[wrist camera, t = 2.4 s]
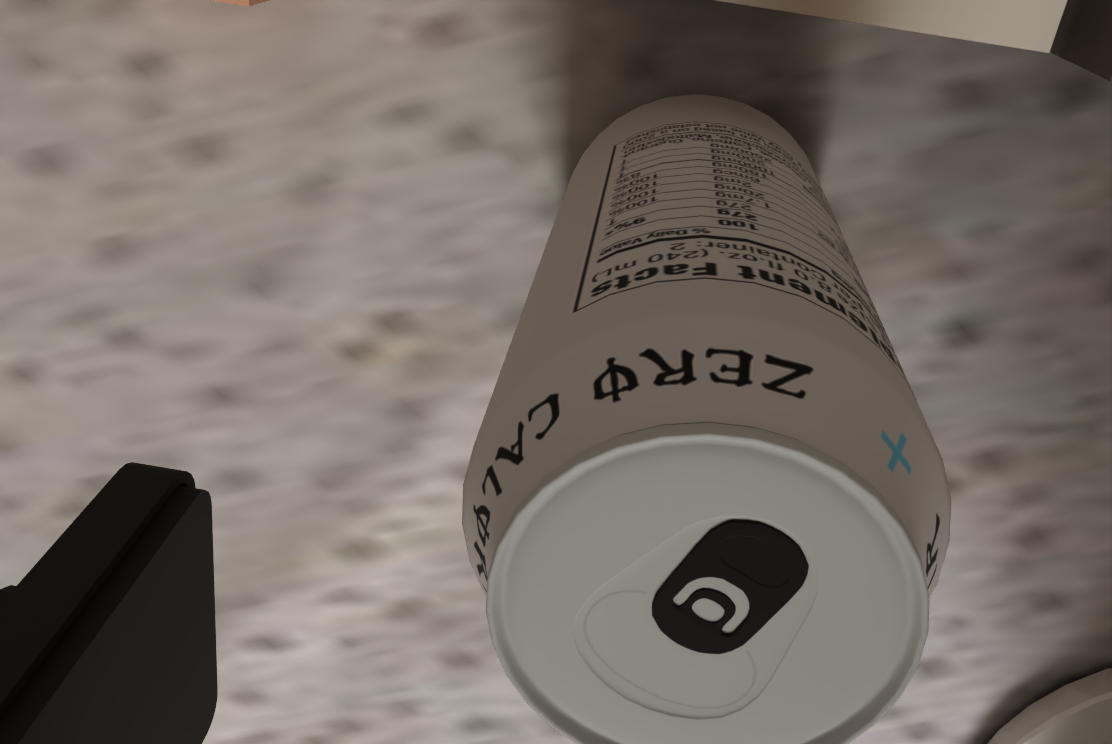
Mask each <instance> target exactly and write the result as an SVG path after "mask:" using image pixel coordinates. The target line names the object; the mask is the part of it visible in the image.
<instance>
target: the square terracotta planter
mask: <svg viewBox="0 0 1112 744" xmlns="http://www.w3.org/2000/svg"><path fill="white" fill-rule="evenodd" d="M213 1H219V2H225V3H231V4H237V5H244V6H252V5H255V4H258V3H262V2H265V1H268V0H213Z"/></svg>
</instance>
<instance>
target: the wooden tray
mask: <svg viewBox="0 0 1112 744" xmlns="http://www.w3.org/2000/svg"><path fill="white" fill-rule="evenodd" d="M716 1H722V2H729V3H735V4H741V5H748V6H754V7H760V8H767V9H773V10H779V11H786V12H792V13H798V14H805V15H811V16H817V17H824V18H830V19H836V20H843V21H849V22H855V23H862V24H868V25H874V26H881V27H887V28H893V29H900V30H906V31H912V32H919V33H925V34H931V35H938V36H944V37H950V38H957V39H963V40H969V41H976V42H982V43H988V44H995V45H1001V46H1007V47H1014V48H1020V49H1026V50H1033V51H1039V52H1045V53H1049V52H1051V53H1053V54H1055V55H1057V56H1059V57H1061V58H1063V59H1066V60H1068V61H1070V62H1072V63H1074V64H1076V65H1078V66H1080V67H1082V68H1084V69H1086V70H1088V71H1090V72H1092V73H1094V74H1097V75H1099V76H1101V77H1103V78H1105V79H1107V80H1109V81H1112V0H716Z"/></svg>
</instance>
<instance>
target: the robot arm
mask: <svg viewBox="0 0 1112 744" xmlns="http://www.w3.org/2000/svg"><path fill="white" fill-rule="evenodd" d="M216 702H217V661H216V629H215V597H214V565H213V533H212V504H211V497H210V494H209V492H208V491H206V490H202V489H196V488H195V482H194V479H193V477H192V474H190V473H189V472H187V471H181V470H175V469H169V468H163V467H157V466H151V465H145V464H139V463H133V462H132V463H127V464H125V465H124V466H123V467H122V468H121V469H119V470H118V472H117V473H116V474H115V475H114V476H113V477H112V478H111V480H110V481H109V482H108V483H107V484H106V485H105V486H104V487H103V489H102V490H101V491H100V492H99V493H98V494H97V495H96V497H95V498H94V499H93V500H92V501H91V502H90V503H89V505H88V506H87V507H86V508H85V509H84V510H83V511H82V512H81V514H80V515H79V516H78V517H77V518H76V519H75V520H74V522H73V523H72V524H71V525H70V526H69V527H68V528H67V529H66V531H65V532H64V533H63V534H62V535H61V536H60V537H59V539H58V540H57V541H56V542H55V543H54V544H53V545H52V547H51V548H50V549H49V550H48V551H47V552H46V553H45V554H44V556H43V557H42V558H41V559H40V560H39V561H38V562H37V564H36V565H35V566H34V567H33V568H32V569H31V570H30V572H29V573H28V574H27V575H26V576H25V577H24V578H23V579H22V581H21V582H20V583H19V584H18V585H17V586H13V585H10V586H8V587H5V588H3V589H0V744H202V742H203V740H204V738H205V736H206V735H207V732H208V730H209V728H210V725H211V722H212V719H213V716H214V712H215V708H216ZM988 744H1112V668H1109V669H1105V670H1103V671H1100V672H1097V673H1095V674H1092V675H1090V676H1087V677H1085V678H1082V679H1079V680H1077V681H1074V682H1072V683H1069V684H1067V685H1065V686H1063V687H1061V688H1059V689H1057V690H1056V691H1054V692H1052V693H1050V694H1049V695H1047V696H1045V697H1043V698H1042V699H1040V700H1038V701H1036V702H1035V703H1033V704H1031V705H1029V706H1028V707H1027V708H1026V709H1024V710H1023V711H1022V712H1021V713H1019V714H1018V715H1017V716H1016V717H1014V718H1013V719H1012V720H1011V721H1009V722H1008V723H1007V724H1006V725H1004V726H1003V727H1002V728H1001V729H1000V730H999V731H998V732H997V733H996V734H995V735H994V737H993V738H992V739H991V740H990V741H989V742H988Z"/></svg>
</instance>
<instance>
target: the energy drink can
mask: <svg viewBox="0 0 1112 744" xmlns="http://www.w3.org/2000/svg"><path fill="white" fill-rule="evenodd" d="M950 513H951V498H950V493H949V488H948V483H947V478H946V474H945V469H944V464H943V459H942V457H941V455H940V452H939V450H938V448H937V446H936V444H935V441H934V439H933V437H932V435H931V432H930V430H929V428H928V426H927V423H926V421H925V419H924V417H923V414H922V412H921V410H920V408H919V405H918V403H917V401H916V399H915V397H914V394H913V392H912V390H911V388H910V385H909V383H908V381H907V379H906V376H905V374H904V372H903V370H902V367H901V365H900V363H899V361H898V358H897V356H896V354H895V352H894V349H893V347H892V345H891V343H890V341H889V338H888V336H887V334H886V332H885V329H884V327H883V325H882V323H881V320H880V318H879V316H878V314H877V311H876V309H875V307H874V305H873V302H872V300H871V298H870V296H869V294H868V291H867V289H866V287H865V285H864V282H863V280H862V278H861V276H860V273H859V271H858V269H857V267H856V264H855V262H854V260H853V258H852V255H851V253H850V251H849V249H848V246H847V244H846V242H845V240H844V238H843V235H842V233H841V231H840V229H839V226H838V224H837V222H836V220H835V217H834V215H833V213H832V211H831V208H830V206H829V204H828V202H827V199H826V197H825V195H824V193H823V191H822V188H821V186H820V184H819V182H818V179H817V177H816V175H815V173H814V171H813V169H812V167H811V164H810V162H809V160H808V158H807V156H806V154H805V153H804V151H803V150H802V149H801V147H800V146H799V145H798V143H797V142H796V141H795V140H794V138H793V137H792V136H791V134H790V133H789V132H787V131H786V130H785V129H784V128H783V127H782V126H780V125H779V124H778V123H777V122H776V121H774V120H773V119H772V118H771V117H770V116H768V115H766V114H764V113H762V112H760V111H758V110H757V109H755V108H753V107H751V106H749V105H747V104H744V103H741V102H738V101H734V100H731V99H728V98H724V97H721V96H710V95H698V94H691V95H682V96H673V97H666V98H663V99H660V100H657V101H653V102H650V103H647V104H644V105H641V106H639V107H637V108H636V109H634V110H632V111H630V112H628V113H627V114H625V115H623V116H621V117H619V118H618V119H617V120H615V121H614V122H613V123H612V124H611V125H609V126H608V127H607V128H606V129H605V130H603V131H602V132H601V133H600V134H599V135H598V136H597V137H596V138H595V140H594V141H593V142H592V143H591V145H590V146H589V147H588V148H587V150H586V151H585V152H584V153H583V155H582V156H581V158H580V160H579V162H578V164H577V166H576V168H575V170H574V172H573V174H572V176H571V178H570V181H569V183H568V186H567V189H566V192H565V194H564V197H563V200H562V203H561V206H560V208H559V211H558V214H557V217H556V219H555V222H554V225H553V228H552V230H551V233H550V236H549V239H548V242H547V244H546V247H545V250H544V253H543V255H542V258H541V261H540V264H539V267H538V269H537V272H536V275H535V278H534V280H533V283H532V286H531V289H530V291H529V294H528V297H527V300H526V303H525V305H524V308H523V311H522V314H521V316H520V319H519V322H518V325H517V327H516V330H515V333H514V336H513V339H512V341H511V344H510V347H509V350H508V352H507V355H506V358H505V361H504V363H503V366H502V369H501V372H500V375H499V377H498V380H497V383H496V386H495V388H494V391H493V394H492V397H491V399H490V402H489V405H488V408H487V411H486V413H485V416H484V419H483V422H482V424H481V427H480V430H479V433H478V436H477V438H476V441H475V444H474V447H473V450H472V454H471V458H470V462H469V465H468V469H467V473H466V476H465V480H464V484H463V513H462V525H463V530H464V535H465V540H466V545H467V549H468V554H469V559H470V563H471V565H472V568H473V570H474V572H475V574H476V577H477V579H478V581H479V583H480V585H481V588H482V590H483V592H484V594H485V597H486V614H487V619H488V624H489V629H490V634H491V639H492V644H493V646H494V649H495V651H496V653H497V655H498V657H499V660H500V662H501V664H502V666H503V668H504V670H505V673H506V675H507V677H508V678H509V679H510V681H511V682H512V683H513V685H514V686H515V687H516V689H517V690H518V692H519V693H520V694H521V696H522V697H523V698H524V700H525V701H526V703H527V704H528V705H529V706H530V707H531V708H532V709H533V710H535V711H536V712H537V713H538V714H539V715H540V716H541V717H542V718H543V719H544V720H545V721H546V722H547V723H549V724H550V725H551V726H552V727H553V728H554V729H555V730H557V731H558V732H560V733H562V734H563V735H565V736H566V737H568V738H569V739H571V740H572V741H574V742H575V743H577V744H849V743H850V742H851V741H853V740H854V739H855V738H857V737H858V736H860V735H861V734H862V733H864V732H865V731H866V730H868V729H869V728H870V727H872V726H873V725H875V724H876V723H877V722H878V721H879V719H880V718H881V717H882V716H883V715H884V714H885V713H886V712H887V711H888V710H889V709H890V707H891V706H892V705H893V704H894V703H895V702H896V701H897V700H898V699H899V698H900V696H901V694H902V693H903V691H904V689H905V688H906V686H907V684H908V682H909V681H910V679H911V677H912V676H913V674H914V672H915V670H916V669H917V667H918V665H919V661H920V658H921V655H922V651H923V648H924V645H925V641H926V638H927V634H928V624H929V597H930V595H931V593H932V592H933V590H934V588H935V586H936V584H937V581H938V578H939V575H940V571H941V568H942V564H943V561H944V558H945V554H946V551H947V547H948V544H949V536H950Z"/></svg>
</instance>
